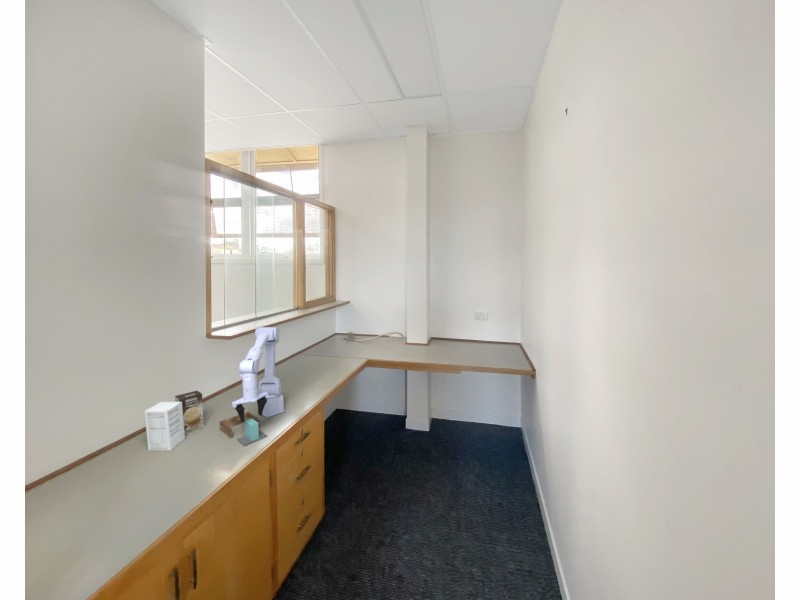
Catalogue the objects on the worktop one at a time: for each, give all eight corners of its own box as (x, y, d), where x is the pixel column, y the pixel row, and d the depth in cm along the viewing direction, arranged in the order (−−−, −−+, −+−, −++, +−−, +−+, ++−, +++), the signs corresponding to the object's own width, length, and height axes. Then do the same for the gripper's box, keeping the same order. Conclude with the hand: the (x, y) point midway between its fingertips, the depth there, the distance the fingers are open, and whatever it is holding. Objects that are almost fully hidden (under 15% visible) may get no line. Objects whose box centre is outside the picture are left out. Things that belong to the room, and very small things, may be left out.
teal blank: (252, 433, 144) (251, 418, 143) (258, 438, 140) (258, 422, 139) (245, 436, 142) (244, 420, 141) (251, 441, 138) (251, 425, 137)
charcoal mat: (259, 431, 147) (259, 430, 147) (267, 436, 142) (267, 435, 142) (237, 440, 140) (236, 439, 139) (244, 446, 135) (244, 445, 135)
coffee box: (181, 435, 143) (179, 399, 141) (176, 430, 147) (173, 396, 145) (204, 427, 150) (202, 393, 149) (199, 422, 154) (196, 389, 153)
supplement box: (185, 438, 140) (183, 401, 138) (170, 451, 131) (167, 411, 129) (163, 438, 140) (160, 400, 138) (147, 450, 131) (143, 410, 129)
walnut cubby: (248, 419, 158) (248, 411, 157) (259, 427, 150) (259, 419, 150) (220, 429, 148) (219, 421, 147) (229, 438, 141) (229, 429, 140)
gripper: (236, 395, 130) (238, 427, 132) (271, 385, 141) (272, 415, 143) (229, 390, 135) (230, 421, 137) (263, 381, 146) (264, 410, 147)
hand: (251, 418), depth 140 cm, fingers open, 7 cm apart
